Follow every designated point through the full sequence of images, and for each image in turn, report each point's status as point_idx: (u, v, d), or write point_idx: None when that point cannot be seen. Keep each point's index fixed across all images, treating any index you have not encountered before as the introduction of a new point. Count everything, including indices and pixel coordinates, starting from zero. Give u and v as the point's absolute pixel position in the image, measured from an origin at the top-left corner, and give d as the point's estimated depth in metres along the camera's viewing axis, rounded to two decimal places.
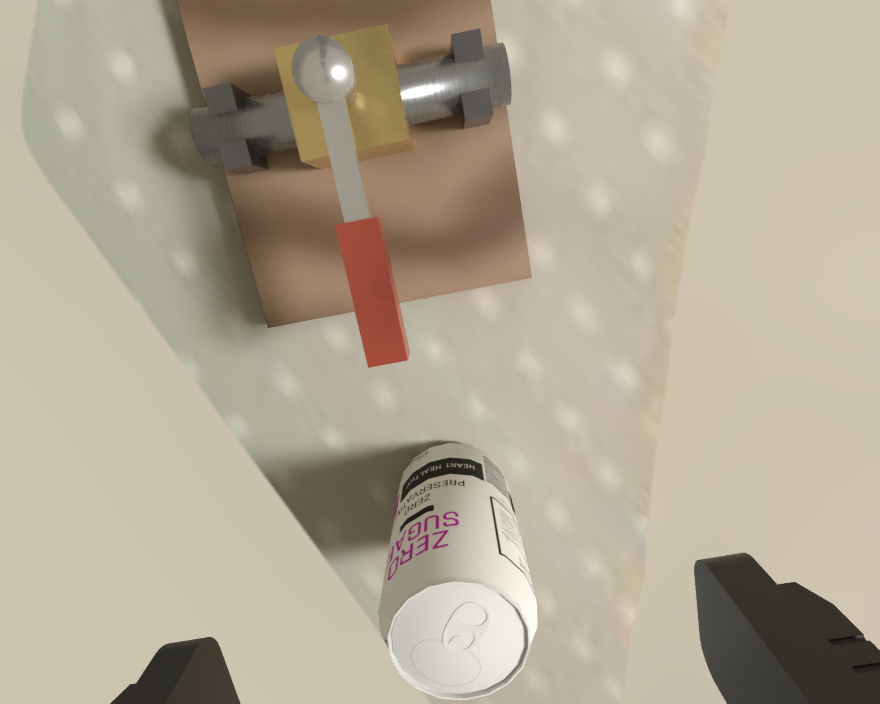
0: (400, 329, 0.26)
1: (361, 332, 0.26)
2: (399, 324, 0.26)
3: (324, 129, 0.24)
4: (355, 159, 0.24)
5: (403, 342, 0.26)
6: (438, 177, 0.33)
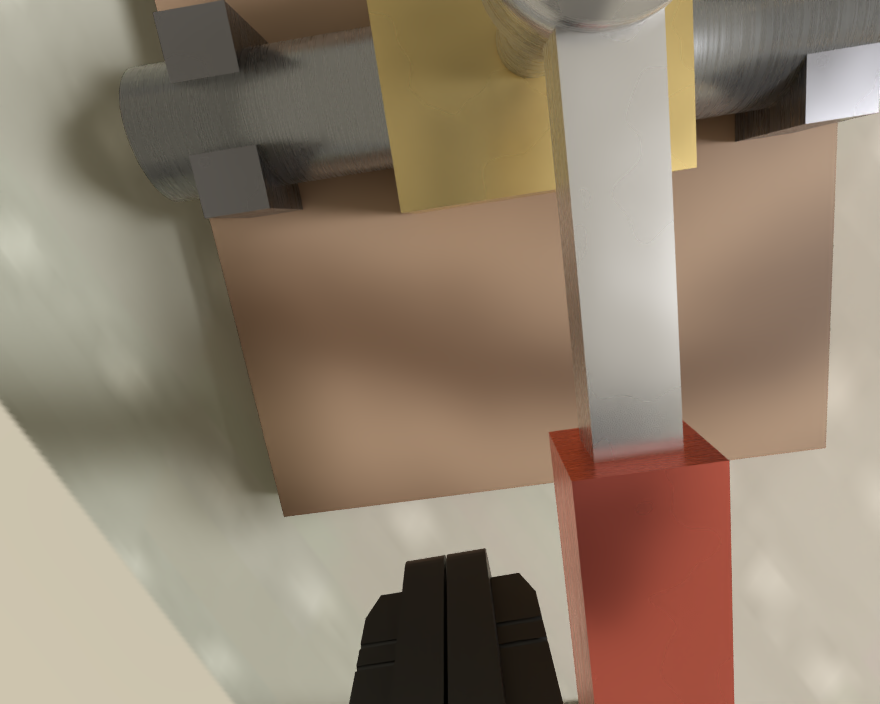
0: None
1: None
2: None
3: (570, 136, 0.06)
4: (670, 252, 0.06)
5: None
6: None
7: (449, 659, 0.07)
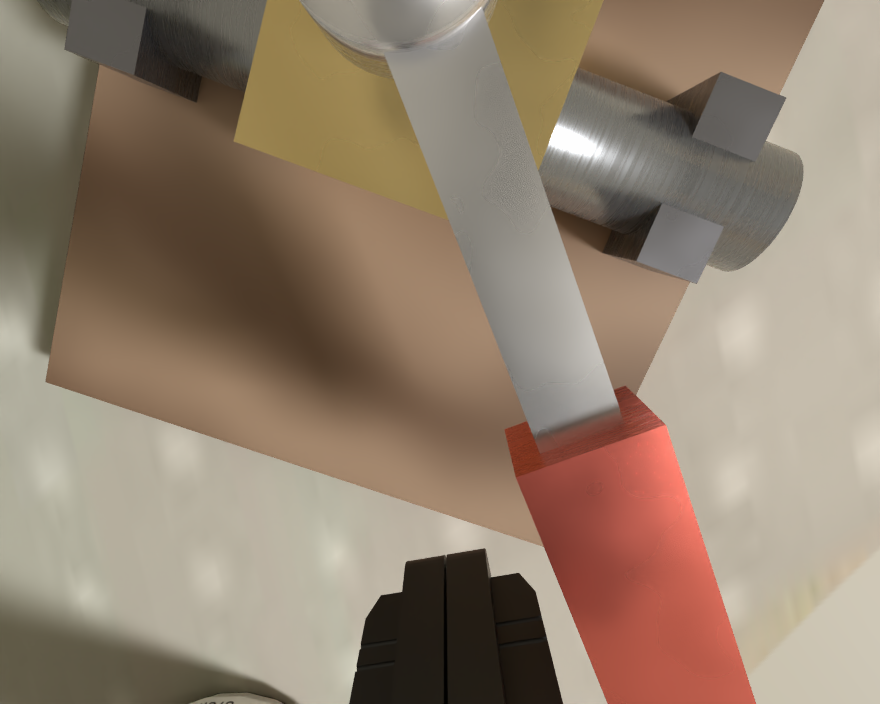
0: None
1: None
2: None
3: (427, 150, 0.06)
4: (555, 236, 0.06)
5: None
6: None
7: (449, 659, 0.07)
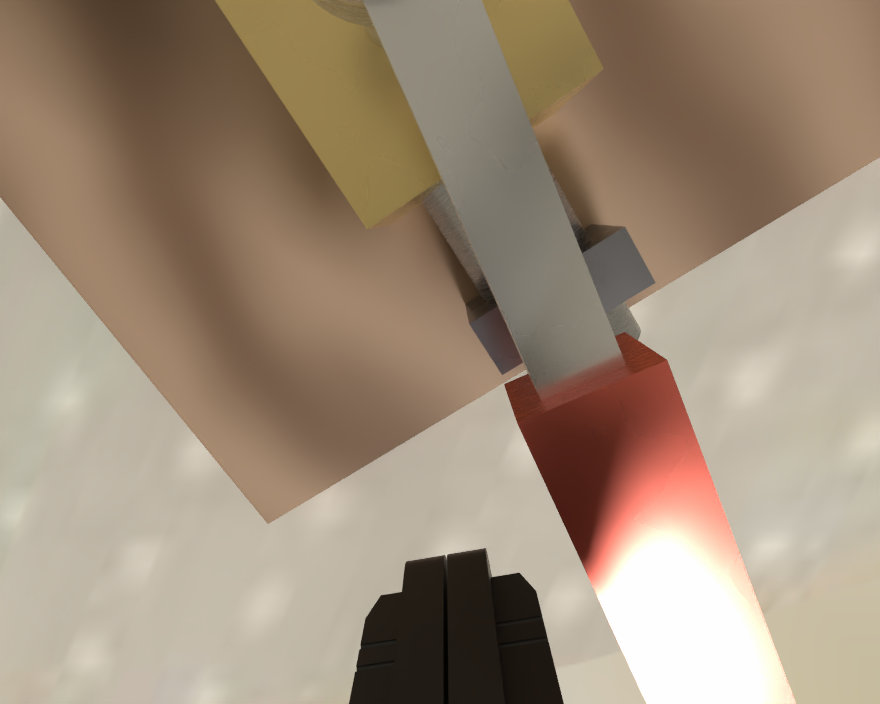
0: (783, 681, 0.08)
1: None
2: (778, 667, 0.08)
3: (408, 90, 0.06)
4: (544, 172, 0.06)
5: None
6: (360, 292, 0.16)
7: (449, 659, 0.07)
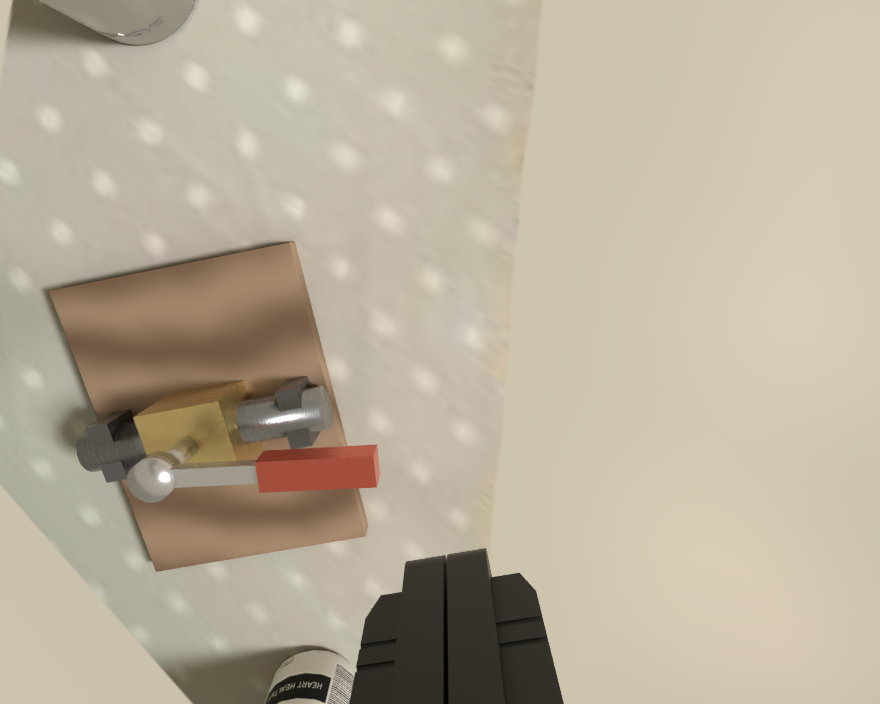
0: (346, 457, 0.31)
1: (346, 487, 0.31)
2: (342, 457, 0.31)
3: (191, 486, 0.32)
4: (213, 468, 0.31)
5: (358, 456, 0.31)
6: None
7: (449, 659, 0.07)
